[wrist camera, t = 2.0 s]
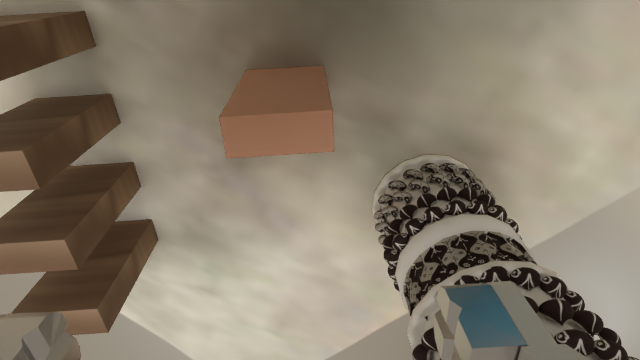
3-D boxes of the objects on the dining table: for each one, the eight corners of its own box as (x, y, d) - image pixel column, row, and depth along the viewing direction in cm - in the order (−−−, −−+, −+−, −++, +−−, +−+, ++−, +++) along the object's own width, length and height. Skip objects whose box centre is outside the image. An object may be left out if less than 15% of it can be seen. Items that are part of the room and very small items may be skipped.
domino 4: (87, 223, 30) (10, 314, 22) (151, 219, 30) (97, 309, 22) (96, 243, 31) (24, 338, 23) (158, 239, 31) (108, 332, 23)
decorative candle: (424, 124, 27) (968, 812, 5) (507, 191, 30) (1076, 804, 8) (342, 212, 30) (448, 855, 8) (425, 264, 33) (663, 839, 11)
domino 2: (34, 98, 25) (-90, 157, 17) (111, 93, 25) (22, 150, 17) (46, 127, 26) (-66, 195, 18) (120, 122, 26) (40, 189, 18)
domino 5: (245, 70, 25) (219, 117, 17) (323, 65, 25) (332, 110, 17) (250, 100, 25) (226, 158, 18) (324, 95, 26) (334, 151, 18)
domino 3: (63, 166, 27) (-34, 246, 19) (133, 162, 27) (64, 239, 19) (73, 190, 28) (-15, 275, 20) (141, 186, 28) (78, 269, 20)
